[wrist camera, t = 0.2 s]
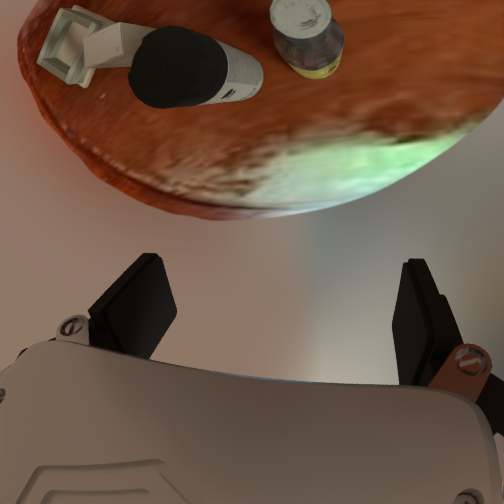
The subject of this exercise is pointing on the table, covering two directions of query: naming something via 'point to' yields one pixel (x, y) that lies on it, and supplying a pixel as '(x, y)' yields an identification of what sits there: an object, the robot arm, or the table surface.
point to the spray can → (191, 70)
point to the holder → (70, 44)
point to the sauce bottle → (307, 36)
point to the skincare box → (113, 45)
